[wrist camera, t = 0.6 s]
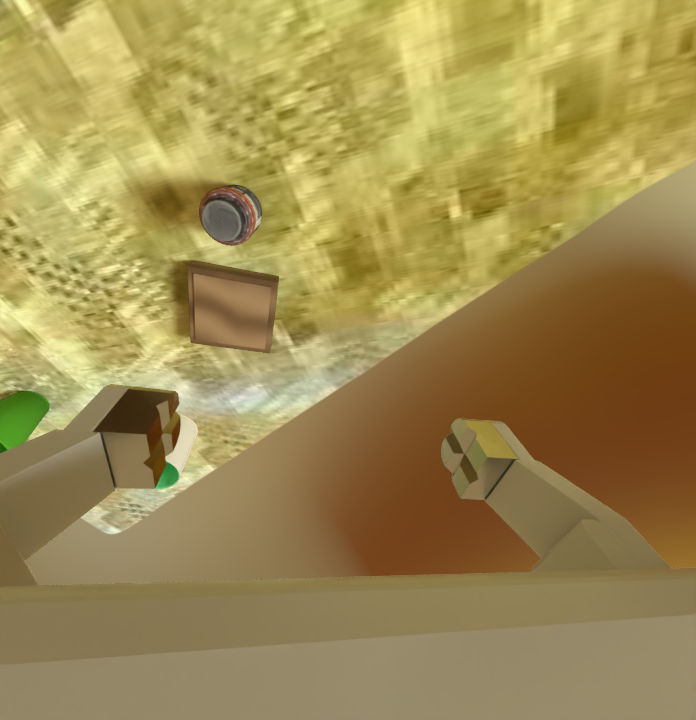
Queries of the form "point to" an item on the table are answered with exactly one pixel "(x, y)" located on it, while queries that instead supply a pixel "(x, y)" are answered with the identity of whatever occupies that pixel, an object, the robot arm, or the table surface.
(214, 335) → the brown box
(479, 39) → the table surface
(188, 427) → the mug
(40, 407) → the cup
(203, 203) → the supplement bottle
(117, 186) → the table surface
